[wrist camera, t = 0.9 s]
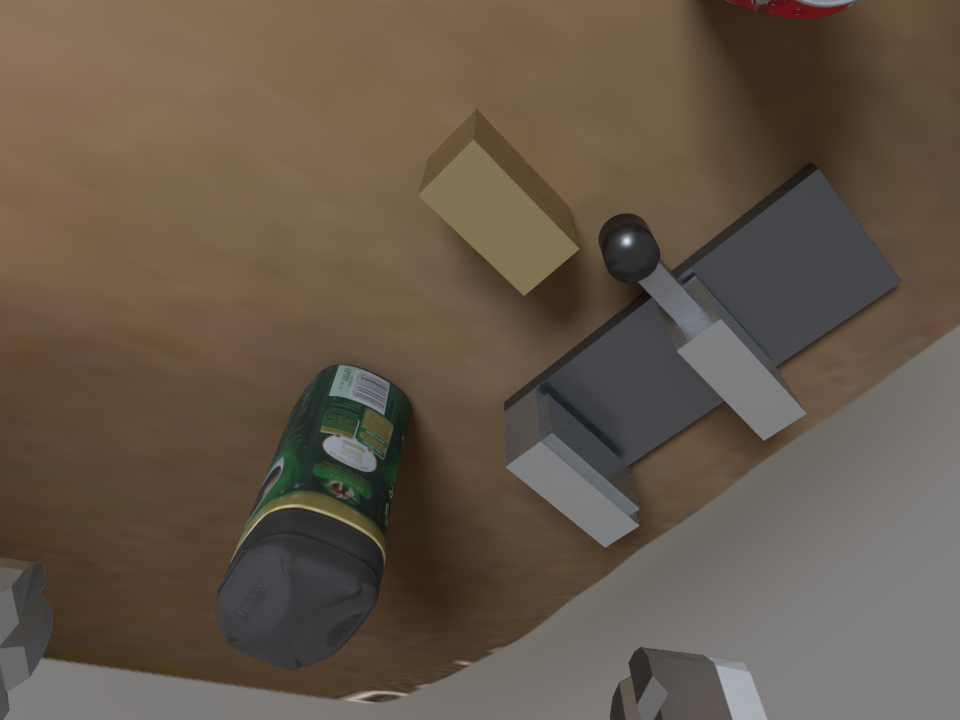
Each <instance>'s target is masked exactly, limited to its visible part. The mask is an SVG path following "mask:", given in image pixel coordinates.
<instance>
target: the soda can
mask: <svg viewBox="0 0 960 720" xmlns="http://www.w3.org/2000/svg"><path fill="white" fill-rule="evenodd" d="M725 1H728V2H730V3H733V4H736V5H739V6H742V7H746V8H749V9H752V10H756V11H760V12H763V13H767V14H771V15H776V16H780V17H787V18H796V19H810V18H819V17H823V16H826V15H830V14H833V13H837V12H839V11H841V10H843V9H846V8H848V7H850V6H852V5H853V4H855V3H856V2H858V1H860V0H725Z"/></svg>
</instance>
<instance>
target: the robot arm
mask: <svg viewBox="0 0 960 720" xmlns="http://www.w3.org/2000/svg"><path fill="white" fill-rule="evenodd" d="M46 583H47V579H46V575H45V571H44V566H43V565H42V564H36V563H30V562H24V561H18V560H12V559H6V558H1V557H0V720H3V719H4V718H5V716H6V715H7V713H8V712H9V703H8V695H7V692H8V691H9V690H11V689H13V688H14V687H16V686H17V685H19V684H20V683H22V682H24V681H25V680H27V679H28V678H29V677H30V676H31V675H32V673H33V671H34V670H35V668H36V666H37V665H38V663H39V661H40V660H41V658H42V656H43V654H44V651H45V648H46V646H47V643H48V640H49V637H50V635H51V628H52V619H53V616H52V609H51V604H49V603H48V602H47V601H46V600H45V599H44V598H43V597H42V596H41V595H40V594H39V593H40V592H41V590H42V589H43V587H44V586H45V584H46ZM629 667H630V672H631V676H629V677H628V678H626V679H624V680H622V681H620V682H619V684H618V687H617V689H616V691H615V693H614V696H613V699H612V706H611V713H610V720H768V719H767V717H766V714H765V711H764V709H763V706H762V703H761V701H760V698H759V695H758V693H757V690H756V687H755V685H754V682H753V679H752V676H751V674H750V671H749V669H748V668H747V666H746V665H745V664H744V663H743V662H741V661H736V660H729V659H721V658H713V657H706V656H704V655H697V654H690V653H682V652H674V651H666V650H658V649H650V648H642V647H640V648H639V649H637V650H636V651H635V652H634V653H633V655H632V657H631V659H630V661H629Z"/></svg>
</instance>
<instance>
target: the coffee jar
mask: <svg viewBox="0 0 960 720" xmlns="http://www.w3.org/2000/svg"><path fill="white" fill-rule="evenodd" d="M409 416H410V408H409V403H408V401H407V399H406V397H405V396H404V394H403V393H402V392H401V391H400V390H399V389H398V388H397V387H396V386H394V385H393V384H392V383H390V382H389V381H387V380H386V379H384V378H382V377H381V376H379V375H378V374H375V373H373V372H371V371H369V370H366V369H363V368H360V367H356V366H352V365H345V364H342V365H334V366H330V367H327V368H326V369H324V370H322V371H321V372H320V373H319V374H318V375H317V376H316V377H315V378H314V379H313V380H312V381H311V383H310V384H309V385H308V387H307V388H306V389H305V390H304V392H303V394H302V395H301V397H300V399H299V400H298V402H297V404H296V405H295V407H294V409H293V411H292V413H291V416H290V418H289V420H288V423H287V425H286V428H285V430H284V432H283V435H282V437H281V440H280V443H279V445H278V448H277V451H276V453H275V456H274V458H273V461H272V463H271V466H270V468H269V471H268V473H267V475H266V478H265V480H264V482H263V485H262V487H261V490H260V492H259V494H258V497H257V499H256V502H255V504H254V507H253V509H252V512H251V514H250V516H249V519H248V521H247V524H246V526H245V528H244V531H243V533H242V536H241V538H240V540H239V543H238V545H237V548H236V550H235V553H234V555H233V558H232V560H231V562H230V565H229V567H228V570H227V572H226V574H225V577H224V580H223V582H222V583H221V585H220V586H219V588H218V597H217V601H216V607H215V613H216V619H217V622H218V625H219V627H220V630H221V631H222V633H223V635H224V636H225V638H226V639H227V642H228V644H229V646H230V647H231V648H233V649H235V650H237V651H240V652H242V653H244V654H247V655H249V656H252V657H254V658H257V659H259V660H262V661H265V662H267V663H270V664H273V665H277V666H280V667H283V668H286V669H289V670H296V669H298V668H299V667H302V666H306V665H310V664H313V663H316V662H319V661H321V660H324V659H326V658H328V657H329V656H331V655H333V654H334V653H336V652H337V651H338V650H339V649H340V648H342V646H343V645H344V644H345V643H346V642H347V641H348V640H349V639H350V638H351V637H352V636H353V634H355V632H356V631H357V630H358V629H359V627H360V626H361V625H362V624H363V622H364V621H365V619H366V618H367V617H368V615H369V613H370V612H371V611H372V609H373V608H374V606H375V604H376V601H377V598H378V595H379V587H380V583H381V578H382V574H383V569H384V565H385V536H386V529H387V523H388V517H389V512H390V507H391V502H392V497H393V492H394V486H395V481H396V477H397V472H398V467H399V462H400V458H401V454H402V450H403V445H404V441H405V436H406V431H407V426H408V421H409Z"/></svg>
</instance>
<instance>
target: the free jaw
mask: <svg viewBox="0 0 960 720" xmlns="http://www.w3.org/2000/svg"><path fill="white" fill-rule="evenodd" d="M599 246H600V249H601V252H602V255H603V258H604V261H605V264H606V267H607V269H608V271H609V273H610V274H611V275H612V276H613V277H614V278H616V279H617V280H619V281H622V282H629V283H630V282H637V281H638V282H639V283H640V285H641V286H642V287H643V288H644V289H645V290H646V291H647V292H648V293H649V294H650V295H651V296H652V297H653V298H654V299H655V300H656V301H657V302H658V305H657V307H658V309H659V311H660V314H661V316H662V318H663V321H664V323H665V325H666V328H667V330H668V332H669V335H670V337H671V339H672V342H673V344H674V346H675V348H676V351H677V352H678V353H679V354H680V355H681V356H682V357H683V358H684V359H685V360H686V361H687V362H688V363H689V364H690V365H691V366H692V367H693V368H694V369H695V370H696V371H697V373H698V374H699V375H700V376H701V377H702V378H703V379H704V380H705V381H706V382H707V383H708V384H709V385H710V386H711V387H712V388H713V389H714V390H715V391H716V392H717V393H718V394H719V395H720V396H721V397H722V398H723V399H724V400H725V401H726V402H727V403H728V404H729V406H730V407H731V408H732V409H733V410H734V411H735V412H736V413H737V414H738V415H739V416H740V417H741V418H742V419H743V420H744V421H745V422H746V423H747V424H748V425H749V426H750V427H751V428H752V429H753V430H754V431H755V432H756V433H757V434H758V435H759V436H760V437H761V439H762V440H763V441H764V440H766V439H767V438H769V437H771V436H772V435H774V434H775V433H777V432H778V431H780V430H782V429H783V428H785V427H786V426H788V425H790V424H791V423H793V422H794V421H796V420H798V419H799V418H801V417H802V416H804V415H805V414H807V413H806V411H805V410H804V408H803V407H802V405H801V404H800V402H799V401H798V399H797V398H796V396H795V394H794V393H793V391H792V390H791V388H790V387H789V385H788V384H787V382H786V380H785V379H784V377H783V376H782V374H781V373H780V371H779V370H778V368H777V367H776V365H775V363H774V362H773V361H772V360H771V359H770V358H769V357H768V356H767V355H766V353H765V352H764V351H763V350H762V349H761V348H760V347H759V346H758V345H757V343H756V342H755V341H754V340H753V339H752V338H751V337H750V336H749V334H748V333H747V332H746V331H745V330H744V329H743V328H742V327H741V326H740V324H739V323H738V322H737V321H736V320H735V319H734V318H733V317H732V316H731V314H730V313H729V312H728V311H727V310H726V309H725V308H724V307H723V305H722V304H721V303H720V302H719V301H718V300H717V299H716V298H715V297H714V295H713V294H712V293H711V292H710V291H709V290H708V289H707V288H706V287H705V285H704V284H703V283H702V282H701V281H700V280H699V279H698V278H697V276H694V277H693V278H692V279H691V280H689V281H688V282H687V283H685V284H683V283H682V282H681V281H680V280H679V279H678V278H677V277H676V276H675V274H674V273H673V272H672V271H671V270H670V269H669V268H668V267H667V266H666V265H665V263H664V262H663V261H662V260H661V259H660V251H659V247H658V245H657V243H656V241H655V239H654V237H653V235H652V233H651V231H650V229H649V227H648V226H647V224H646V222H645V221H644V220H643V219H642V218H640V217H639V216H637V215H634V214H628V213H626V214H619V215H616V216H614V217H612V218H611V219H609V220H608V221H607V222H606V223H605V224H604V225H603V227H602V229H601V231H600V234H599Z"/></svg>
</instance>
